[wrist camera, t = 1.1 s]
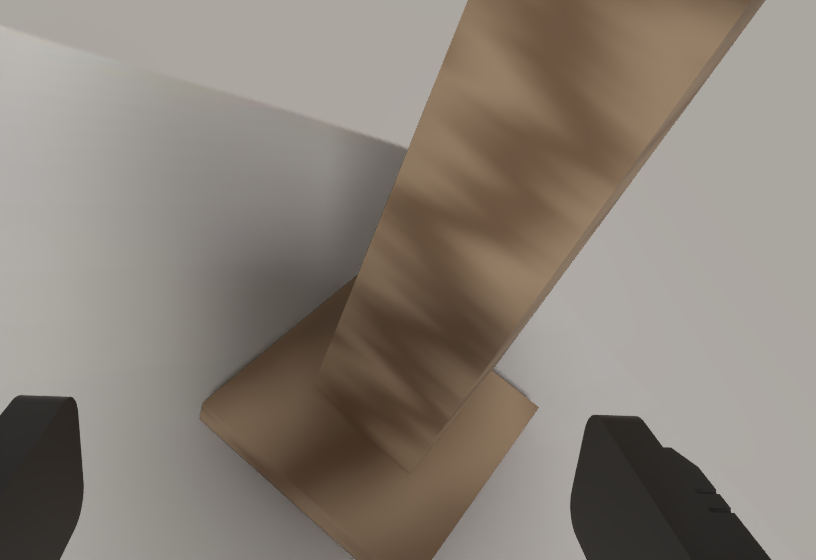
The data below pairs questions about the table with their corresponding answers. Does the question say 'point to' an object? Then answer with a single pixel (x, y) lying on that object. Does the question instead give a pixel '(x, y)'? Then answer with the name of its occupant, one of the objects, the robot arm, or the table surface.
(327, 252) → the table surface
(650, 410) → the table surface
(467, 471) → the stand
